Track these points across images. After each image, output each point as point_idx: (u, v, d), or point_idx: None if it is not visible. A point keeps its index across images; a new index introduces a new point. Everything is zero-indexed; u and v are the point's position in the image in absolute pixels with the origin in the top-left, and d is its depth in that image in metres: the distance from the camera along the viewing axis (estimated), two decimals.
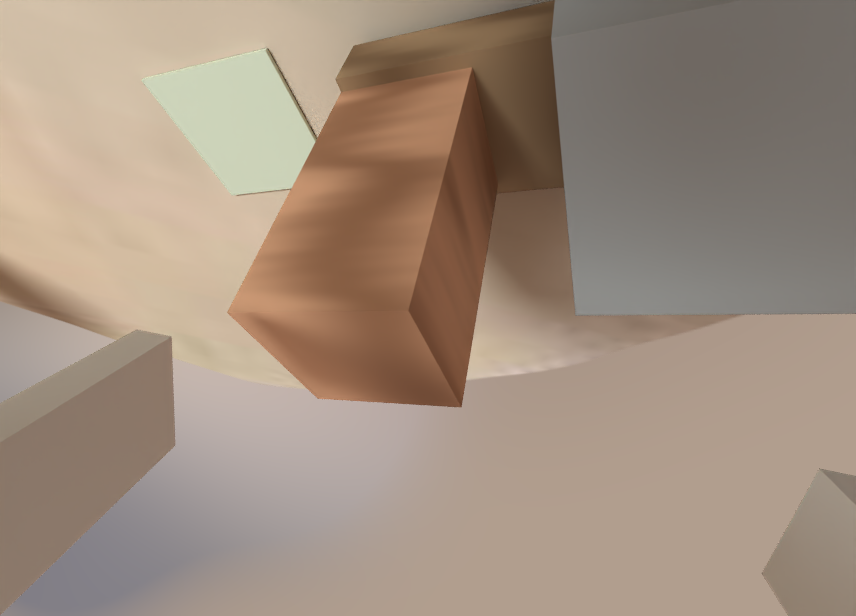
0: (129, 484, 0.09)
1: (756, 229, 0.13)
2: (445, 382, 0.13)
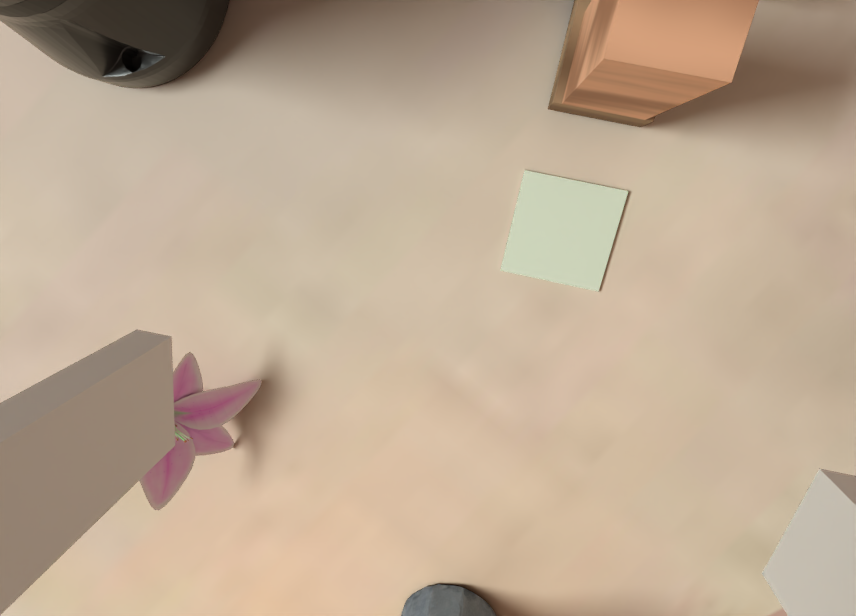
0: (129, 484, 0.09)
1: None
2: None
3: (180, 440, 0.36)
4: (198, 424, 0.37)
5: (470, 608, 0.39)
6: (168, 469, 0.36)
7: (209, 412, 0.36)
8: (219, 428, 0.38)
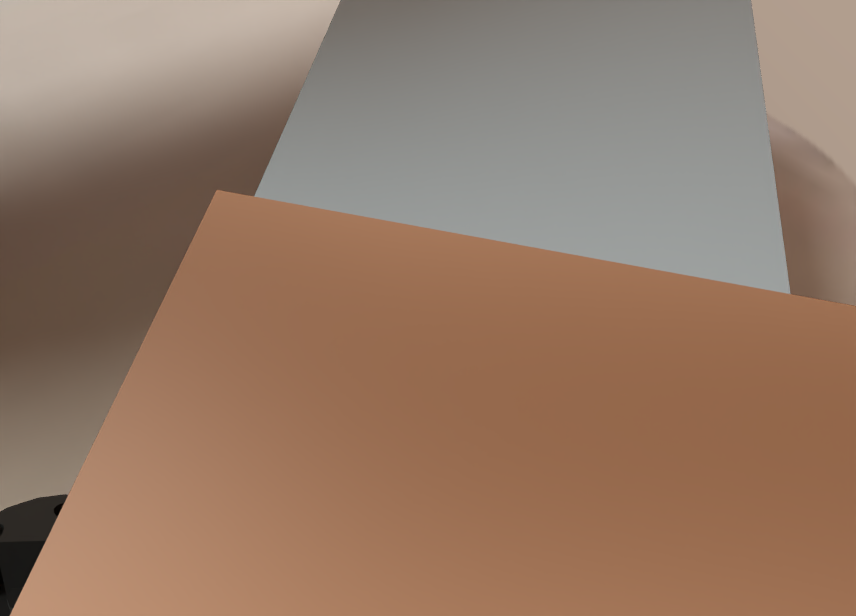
0: None
1: (583, 87, 0.11)
2: (743, 295, 0.03)
3: None
4: None
5: None
6: None
7: None
8: None
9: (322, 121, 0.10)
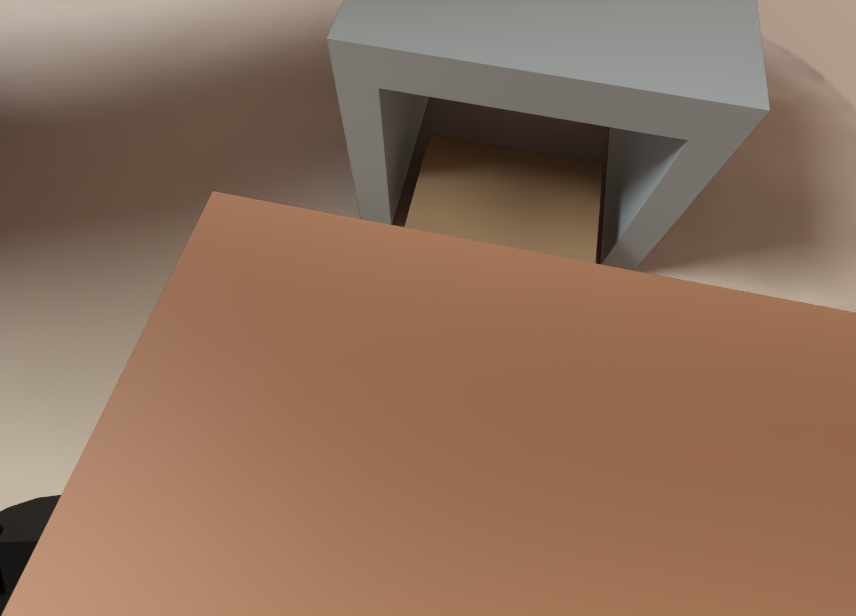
0: None
1: None
2: (734, 299, 0.03)
3: None
4: None
5: None
6: None
7: None
8: None
9: None
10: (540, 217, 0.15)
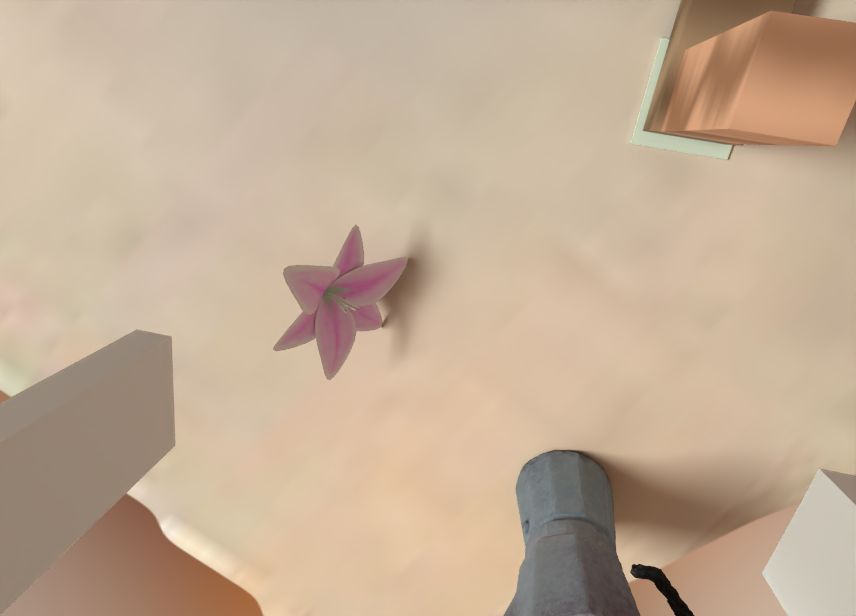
0: (129, 484, 0.09)
1: None
2: (849, 23, 0.21)
3: (343, 315, 0.39)
4: (357, 300, 0.40)
5: (587, 468, 0.43)
6: (337, 341, 0.39)
7: (367, 288, 0.39)
8: (373, 305, 0.41)
9: None
10: None
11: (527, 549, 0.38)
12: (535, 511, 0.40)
